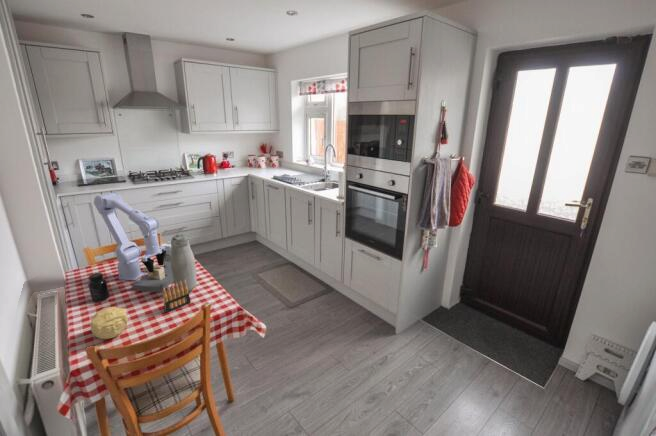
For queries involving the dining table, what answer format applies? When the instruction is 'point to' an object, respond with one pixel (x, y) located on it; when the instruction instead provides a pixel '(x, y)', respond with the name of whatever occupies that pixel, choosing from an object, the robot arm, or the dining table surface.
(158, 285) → the slot board
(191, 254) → the grey bottle
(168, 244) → the syrup box
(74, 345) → the dining table surface
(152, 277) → the peg
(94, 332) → the sculpture
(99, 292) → the supplement bottle
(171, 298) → the ammunition clip
